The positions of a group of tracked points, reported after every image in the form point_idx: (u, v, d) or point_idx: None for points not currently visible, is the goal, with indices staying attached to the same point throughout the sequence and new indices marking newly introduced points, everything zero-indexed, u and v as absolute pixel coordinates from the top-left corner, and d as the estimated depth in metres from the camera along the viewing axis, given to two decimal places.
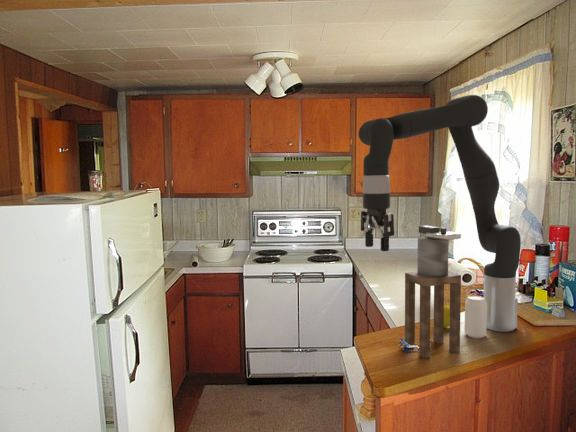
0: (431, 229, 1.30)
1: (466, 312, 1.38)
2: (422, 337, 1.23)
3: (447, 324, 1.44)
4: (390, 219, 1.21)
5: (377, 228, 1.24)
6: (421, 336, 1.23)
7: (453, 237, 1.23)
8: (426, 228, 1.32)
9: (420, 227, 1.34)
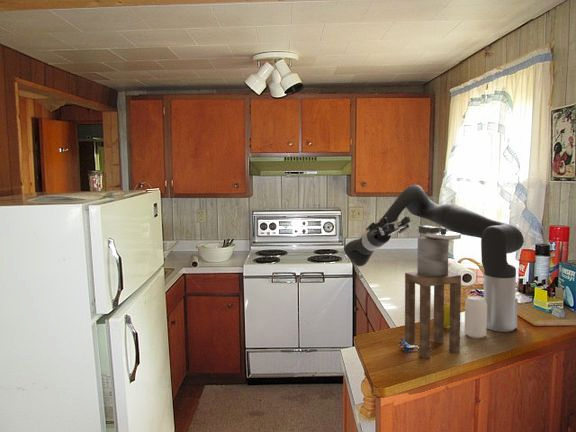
0: (431, 229, 1.30)
1: (466, 312, 1.38)
2: (422, 337, 1.23)
3: (447, 324, 1.44)
4: (367, 230, 1.56)
5: (381, 231, 1.54)
6: (421, 336, 1.23)
7: (453, 237, 1.23)
8: (426, 228, 1.32)
9: (420, 227, 1.34)
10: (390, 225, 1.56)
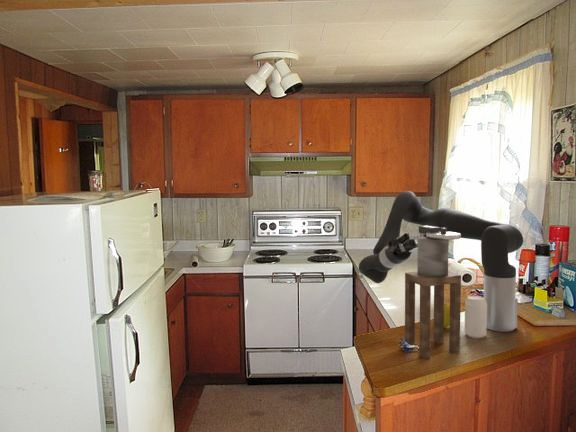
0: (431, 229, 1.30)
1: (466, 312, 1.38)
2: (422, 337, 1.23)
3: (447, 324, 1.44)
4: (386, 246, 1.43)
5: (402, 248, 1.41)
6: (421, 336, 1.23)
7: (453, 237, 1.23)
8: (426, 228, 1.32)
9: (420, 227, 1.34)
10: (411, 241, 1.43)
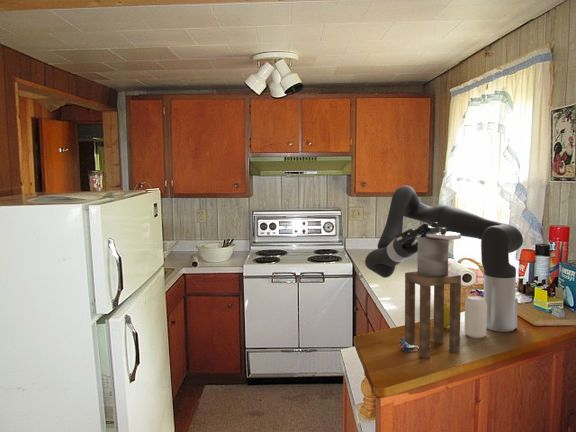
0: (431, 229, 1.30)
1: (466, 312, 1.38)
2: (422, 337, 1.23)
3: (447, 324, 1.44)
4: (399, 237, 1.37)
5: (416, 240, 1.36)
6: (421, 336, 1.23)
7: (453, 237, 1.23)
8: None
9: None
10: None
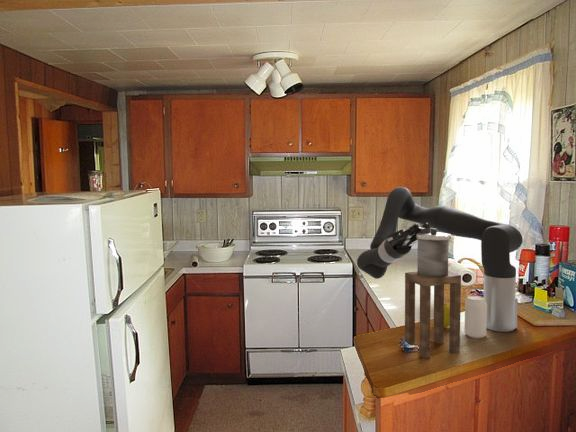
0: (421, 230, 1.29)
1: (466, 312, 1.38)
2: (422, 337, 1.23)
3: (447, 324, 1.44)
4: (390, 238, 1.36)
5: (407, 240, 1.35)
6: (421, 336, 1.23)
7: (443, 238, 1.22)
8: None
9: None
10: None
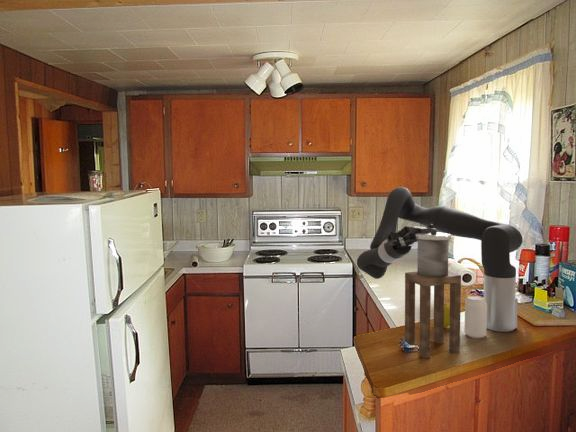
0: (421, 230, 1.29)
1: (466, 312, 1.38)
2: (422, 337, 1.23)
3: (447, 324, 1.44)
4: (385, 240, 1.37)
5: (402, 242, 1.35)
6: (421, 336, 1.23)
7: (443, 238, 1.22)
8: (416, 229, 1.31)
9: (411, 228, 1.33)
10: (411, 234, 1.37)
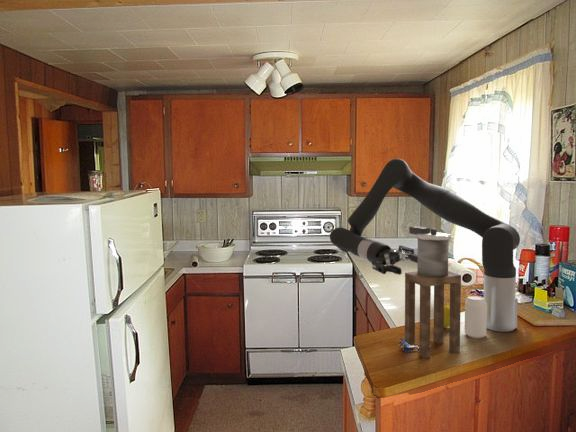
0: (421, 230, 1.29)
1: (466, 312, 1.38)
2: (422, 337, 1.23)
3: (447, 324, 1.44)
4: (374, 265, 1.45)
5: None
6: (421, 336, 1.23)
7: (443, 238, 1.22)
8: (416, 229, 1.31)
9: (411, 228, 1.33)
10: (397, 258, 1.46)
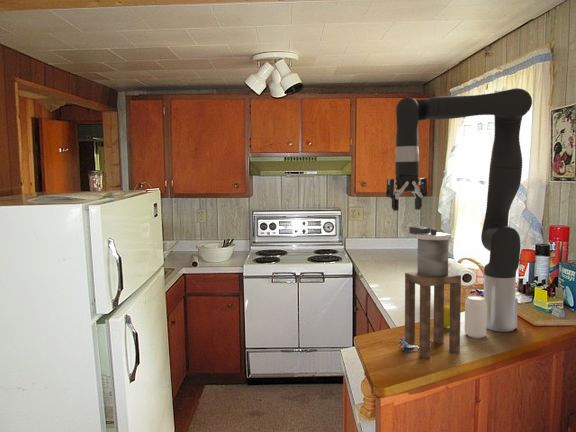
0: (421, 230, 1.29)
1: (466, 312, 1.38)
2: (422, 337, 1.23)
3: (447, 324, 1.44)
4: (389, 183, 1.46)
5: None
6: (421, 336, 1.23)
7: (443, 238, 1.22)
8: (416, 229, 1.31)
9: (411, 228, 1.33)
10: (409, 191, 1.49)
